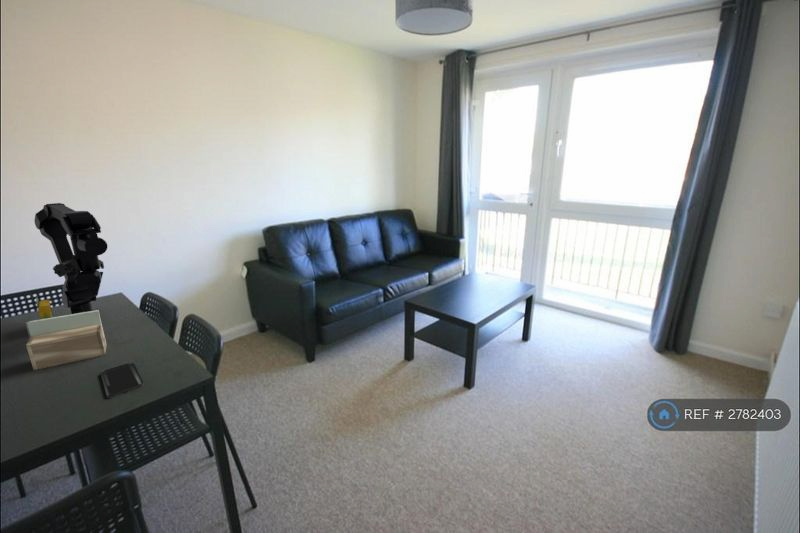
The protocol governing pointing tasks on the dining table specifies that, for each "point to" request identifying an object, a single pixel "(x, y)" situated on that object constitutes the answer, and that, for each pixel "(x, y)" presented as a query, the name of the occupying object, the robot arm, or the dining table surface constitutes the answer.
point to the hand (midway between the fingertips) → (95, 295)
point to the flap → (63, 323)
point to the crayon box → (44, 309)
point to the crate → (66, 346)
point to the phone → (121, 380)
